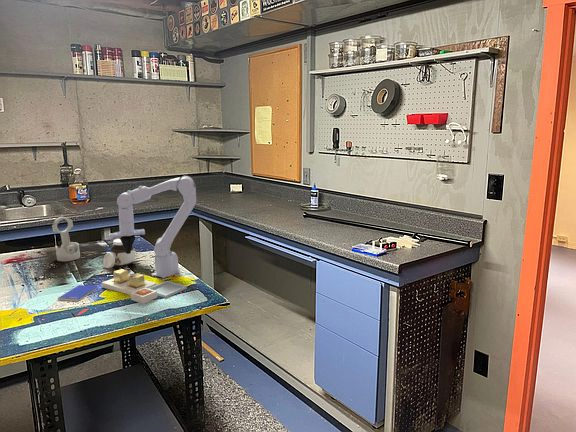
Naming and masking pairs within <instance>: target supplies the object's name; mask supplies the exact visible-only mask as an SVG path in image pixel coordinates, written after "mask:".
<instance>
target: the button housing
mask: <svg viewBox="0 0 576 432" xmlns="http://www.w3.org/2000/svg"><path fill="white" fill-rule="evenodd" d="M140 290H149V292H150V293H149V294H146V295H144V296H142V295H138V292H139V291H140ZM140 290H137V291H135V292H133V293H130V294H131V295H130V301H134V302H136V303H139V304H143V305H144V304H147V303H148V302H151V301H152V300H155V299H157V298H158V296H157V291H155V290H151V289H148V288H142V289H140Z"/></svg>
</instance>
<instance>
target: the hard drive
mask: <svg viewBox="0 0 576 432" xmlns="http://www.w3.org/2000/svg"><path fill="white" fill-rule="evenodd" d="M97 289H98V286H96V285H83V284H79V285H77V286H75V287H74V288H71V289H70V290H69V291H67V292H65V293H64V294H62V295H61V296H58V297H57V300H58V301H69V302H70V301H71V302H79V301H81V300H83V299H84V298H86V297H87V296H88V295H90V294H92V292H94V291H96V290H97Z"/></svg>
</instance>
